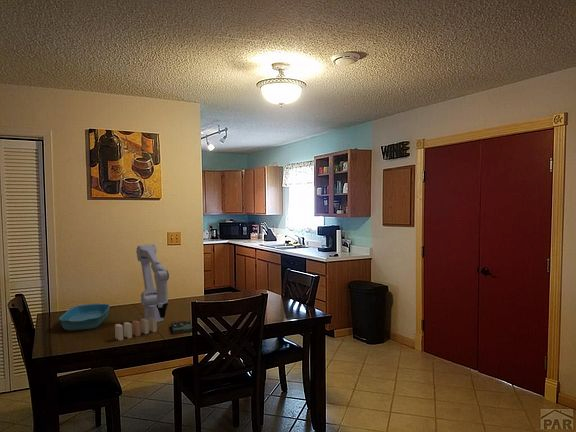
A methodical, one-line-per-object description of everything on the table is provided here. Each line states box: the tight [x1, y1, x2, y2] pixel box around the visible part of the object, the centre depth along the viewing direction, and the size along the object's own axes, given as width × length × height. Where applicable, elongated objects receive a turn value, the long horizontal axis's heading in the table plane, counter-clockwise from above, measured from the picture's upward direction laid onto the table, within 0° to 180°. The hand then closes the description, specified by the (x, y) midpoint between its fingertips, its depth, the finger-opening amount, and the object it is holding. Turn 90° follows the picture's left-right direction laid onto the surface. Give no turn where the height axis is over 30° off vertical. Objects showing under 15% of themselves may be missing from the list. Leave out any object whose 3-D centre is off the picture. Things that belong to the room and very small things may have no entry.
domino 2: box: [123, 321, 133, 339], centre depth 211 cm, size 2×5×7 cm, turn 45°
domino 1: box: [114, 323, 124, 341], centre depth 207 cm, size 2×5×7 cm, turn 45°
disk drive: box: [170, 320, 193, 335], centre depth 222 cm, size 10×3×15 cm
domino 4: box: [140, 317, 150, 335], centre depth 217 cm, size 2×5×7 cm, turn 44°
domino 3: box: [131, 319, 142, 337], centre depth 214 cm, size 2×5×7 cm, turn 45°
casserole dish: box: [58, 303, 111, 331], centre depth 237 cm, size 37×22×7 cm, turn 13°
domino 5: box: [149, 317, 158, 333], centre depth 220 cm, size 2×5×7 cm, turn 45°
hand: (162, 317), depth 224 cm, fingers closed
